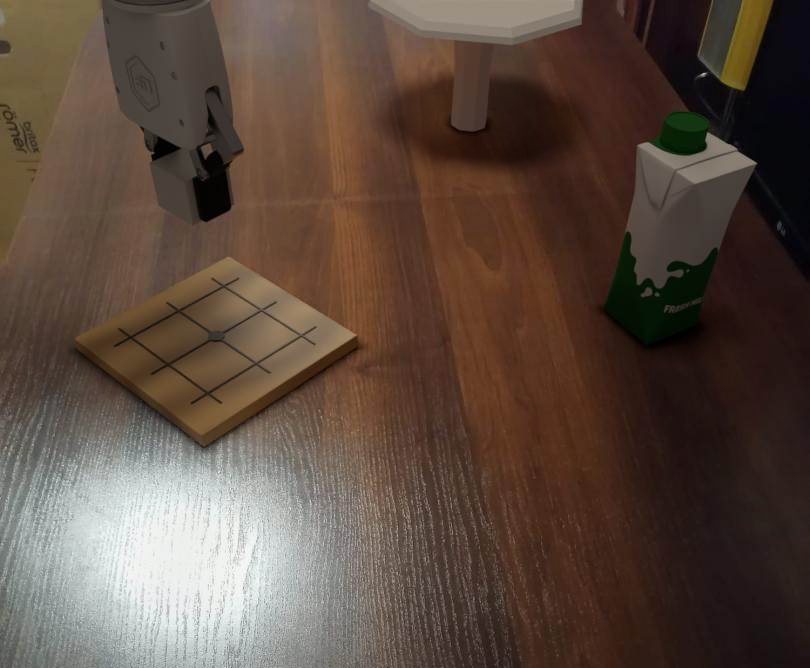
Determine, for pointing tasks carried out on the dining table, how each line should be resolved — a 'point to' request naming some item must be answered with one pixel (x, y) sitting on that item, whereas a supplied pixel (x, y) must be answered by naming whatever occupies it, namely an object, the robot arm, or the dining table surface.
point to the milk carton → (675, 226)
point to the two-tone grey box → (179, 184)
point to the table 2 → (479, 38)
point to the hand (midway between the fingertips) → (195, 201)
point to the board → (216, 348)
